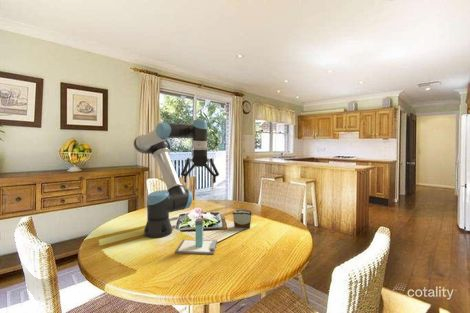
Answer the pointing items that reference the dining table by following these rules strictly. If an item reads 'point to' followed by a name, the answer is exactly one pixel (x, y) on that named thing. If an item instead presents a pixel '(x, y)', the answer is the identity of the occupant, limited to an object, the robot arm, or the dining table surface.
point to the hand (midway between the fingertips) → (200, 188)
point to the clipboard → (191, 248)
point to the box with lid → (199, 232)
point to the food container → (242, 218)
